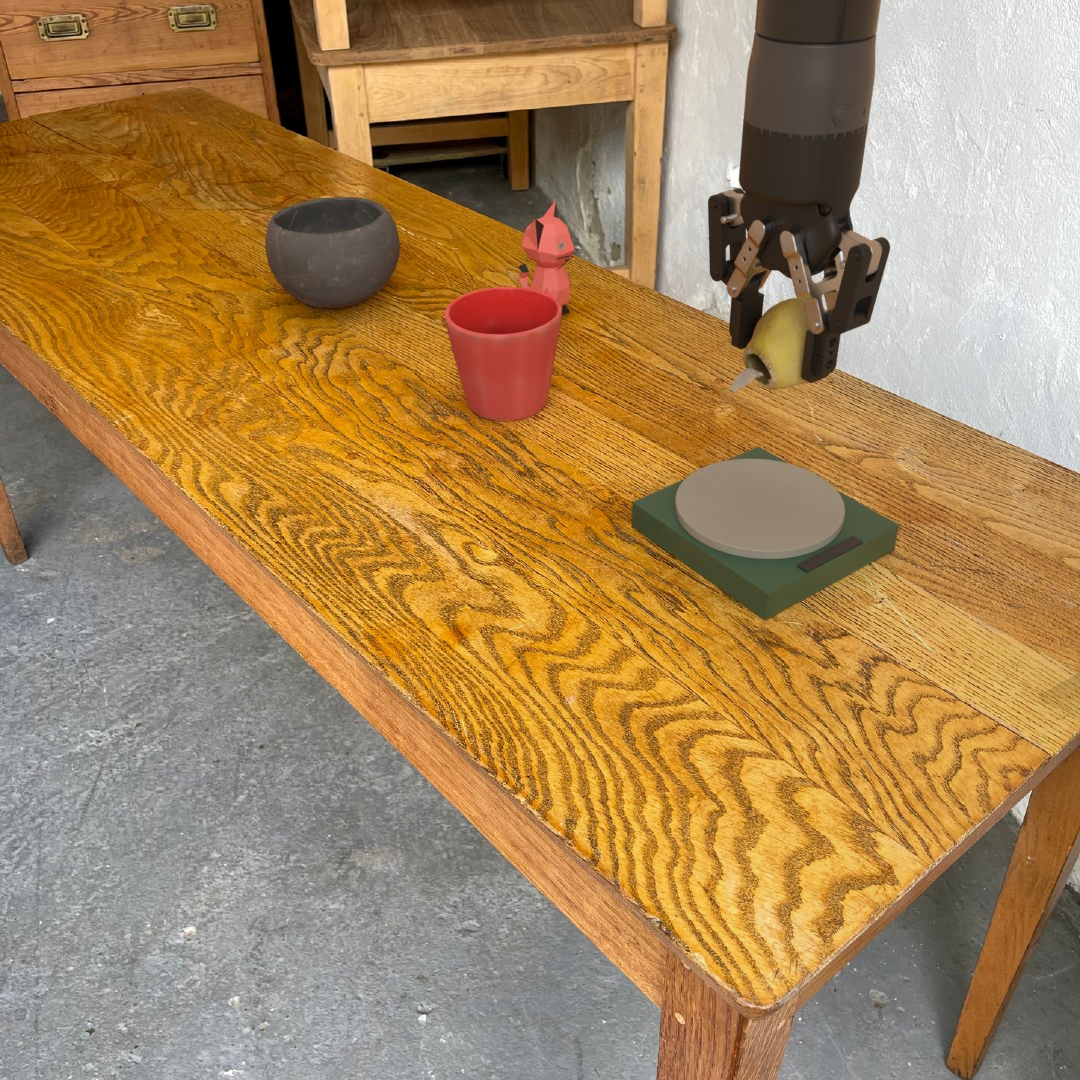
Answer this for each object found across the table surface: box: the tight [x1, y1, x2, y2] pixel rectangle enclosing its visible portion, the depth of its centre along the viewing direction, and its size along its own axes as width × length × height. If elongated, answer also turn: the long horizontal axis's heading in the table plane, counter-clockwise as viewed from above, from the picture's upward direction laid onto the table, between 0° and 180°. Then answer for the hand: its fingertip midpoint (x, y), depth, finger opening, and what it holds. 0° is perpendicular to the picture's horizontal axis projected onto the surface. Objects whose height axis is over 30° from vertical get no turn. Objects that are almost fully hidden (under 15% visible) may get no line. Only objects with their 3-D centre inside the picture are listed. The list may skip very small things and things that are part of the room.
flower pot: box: [444, 286, 563, 422], centre depth 104 cm, size 11×11×10 cm
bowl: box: [264, 196, 401, 309], centre depth 126 cm, size 15×15×10 cm
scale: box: [631, 446, 900, 621], centre depth 86 cm, size 15×14×3 cm
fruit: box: [728, 297, 828, 394], centre depth 76 cm, size 6×6×10 cm
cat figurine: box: [518, 200, 579, 315], centre depth 120 cm, size 7×7×12 cm
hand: (778, 360), depth 77 cm, fingers closed on fruit, 6 cm apart
